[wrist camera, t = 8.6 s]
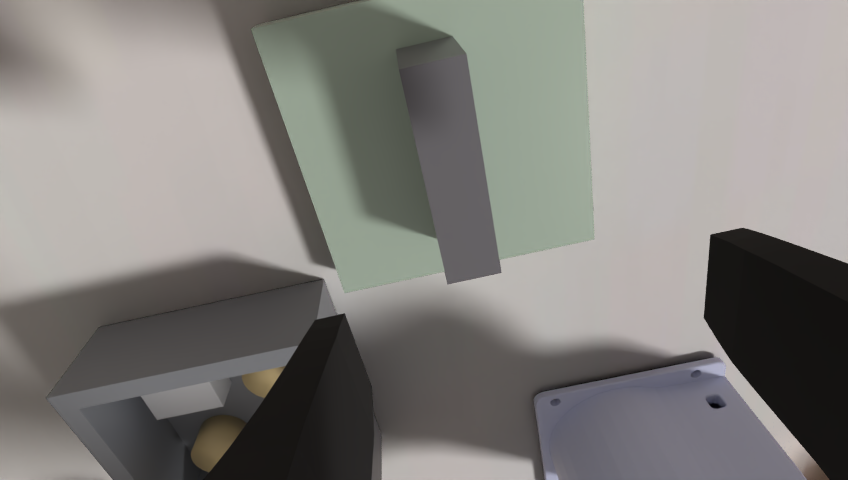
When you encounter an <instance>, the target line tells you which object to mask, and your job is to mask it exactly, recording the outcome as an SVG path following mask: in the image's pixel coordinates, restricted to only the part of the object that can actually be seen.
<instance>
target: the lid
mask: <svg viewBox="0 0 848 480" xmlns="http://www.w3.org/2000/svg"><path fill="white" fill-rule="evenodd" d="M251 31H252V34H253V37H254V39H255V42H256V45H257V48H258V51H259V54H260V56H261V59H262V62H263V65H264V68H265V70H266V73H267V76H268V79H269V82H270V84H271V87H272V90H273V93H274V96H275V98H276V101H277V104H278V107H279V110H280V113H281V115H282V118H283V121H284V124H285V127H286V129H287V132H288V135H289V138H290V141H291V143H292V146H293V149H294V152H295V155H296V158H297V160H298V163H299V166H300V169H301V172H302V174H303V177H304V180H305V183H306V186H307V188H308V191H309V194H310V197H311V200H312V203H313V205H314V208H315V211H316V214H317V217H318V219H319V222H320V225H321V228H322V231H323V233H324V236H325V239H326V242H327V245H328V248H329V250H330V253H331V256H332V259H333V262H334V264H335V267H336V270H337V273H338V276H339V278H340V281H341V284H342V287H343V290H344V293H348V292H352V291H357V290H362V289H366V288H371V287H376V286H380V285H385V284H390V283H394V282H399V281H403V280H408V279H413V278H417V277H422V276H427V275H431V274H436V273H441V272H445V275H446V280H447V284H452V283H456V282H461V281H466V280H470V279H475V278H480V277H484V276H489V275H494V274H498V273H501V267H500V261H499V260H501V259H506V258H510V257H515V256H519V255H524V254H529V253H533V252H538V251H543V250H547V249H552V248H557V247H561V246H566V245H570V244H575V243H580V242H584V241H589V240H594V219H593V197H592V176H591V154H590V133H589V111H588V90H587V68H586V47H585V25H584V4H583V0H358V1H354V2H350V3H346V4H342V5H338V6H333V7H329V8H325V9H321V10H317V11H312V12H308V13H304V14H300V15H296V16H291V17H287V18H283V19H279V20H275V21H270V22H266V23H262V24H258V25H256V26H255V27H253V28H252V29H251Z"/></svg>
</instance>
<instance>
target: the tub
mask: <svg viewBox="0 0 848 480" xmlns="http://www.w3.org/2000/svg"><path fill="white" fill-rule="evenodd" d="M335 315H337V313H336V310H335V308H334V305H333V302H332V300H331V297H330V294H329V292H328V289H327V286H326V284H325V281H324V279H322V280H318V281H313V282H308V283H304V284H299V285H294V286H290V287H285V288H280V289H276V290H271V291H266V292H262V293H257V294H252V295H248V296H243V297H238V298H234V299H229V300H224V301H220V302H215V303H210V304H206V305H201V306H196V307H192V308H187V309H182V310H178V311H173V312H168V313H164V314H159V315H154V316H150V317H145V318H140V319H136V320H131V321H126V322H122V323H117V324H112V325H108V326H103V327H98V329H97V330H96V331H95V333H94V334H93V336H92V337H91V338H90V340H89V341H88V342H87V344H86V345H85V346H84V348H83V349H82V350H81V352H80V353H79V354H78V356H77V357H76V358H75V360H74V361H73V362H72V364H71V365H70V367H69V368H68V369H67V371H66V372H65V373H64V375H63V376H62V377H61V379H60V380H59V381H58V383H57V384H56V385H55V387H54V388H53V389H52V391H51V392H50V393H49V395H48V396H47V398H46V399H47V400H48V401H49V403H50V404H51V405H52V406H53V408H54V409H55V410H56V411H57V412H58V414H59V415H60V416H61V417H62V418H63V420H64V421H65V422H66V423H67V425H68V426H69V427H70V428H71V429H72V431H73V432H74V433H75V434H76V435H77V437H78V438H79V439H80V440H81V442H82V443H83V444H84V445H85V446H86V448H87V449H88V450H89V451H90V453H91V454H92V455H93V456H94V457H95V459H96V460H97V461H98V462H99V463H100V465H101V466H102V467H103V468H104V470H105V471H106V472H107V473H108V474H109V476H110V477H111V478H112V479H113V480H203V479H204V478H205V477H206V476H207V474H208V473H209V472H210V471H211V470H212V468H213V467H214V466H215V465H216V463H217V462H218V461H219V460H220V459H221V457H222V456H223V455H224V453H225V452H226V451H227V450H228V448H229V447H230V446H231V444H232V443H233V442H234V440H235V439H236V438H237V436H238V435H239V433H240V432H241V431H242V429H243V428H244V427H245V425H246V424H247V422H248V421H249V420H250V418H251V417H252V416H253V414H254V413H255V411H256V410H257V409H258V407H259V406H260V404H261V403H262V401H263V400H264V398H265V397H266V395H267V394H268V392H269V391H270V389H271V388H272V386H273V385H274V383H275V382H276V380H277V379H278V377H279V375H280V374H281V372H282V371H283V369H284V368H285V366H286V364H287V363H288V361H289V360H290V358H291V357H292V355H293V353H294V352H295V350H296V349H297V347H298V345H299V344H300V342H301V341H302V339H303V337H304V336H305V334H306V333H307V331H308V330H309V328H310V327H311V325H312V323H313V322H314V320H317V319H321V318H326V317H330V316H335ZM373 418H374V448H373V464H372V480H382V434H381V432H380V429H379V426H378V424H377V421H376V418H375V415H374V413H373Z"/></svg>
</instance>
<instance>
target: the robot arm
mask: <svg viewBox="0 0 848 480" xmlns="http://www.w3.org/2000/svg"><path fill="white" fill-rule="evenodd" d="M704 319H705V320H706V322H707V324H708V325H709V327H710V329H711V330H712V332H713V333H714V335H715V337H716V338H717V340H718V342H719V343H720V345H721V346H722V348H723V349H724V351H725V352H726V354H727V355H728V357H729V358H730V360H731V361H732V363H733V364H734V365H735V366H736V368H737V369H738V370H739V371H740V373H741V374H742V375H743V376H744V377H745V379H746V380H747V381H748V382H749V383H750V385H751V386H752V387H753V388H754V389H755V391H756V392H757V393H758V394H759V395H760V397H761V398H762V399H763V400H764V401H765V402H766V404H767V405H768V406H769V407H770V408H771V410H772V411H773V412H774V413H775V414H776V415H777V417H778V418H779V419H780V420H781V421H782V423H783V424H784V425H785V426H786V427H787V428H788V430H789V431H790V432H791V433H792V434H793V436H794V437H795V438H796V439H797V440H798V441H799V443H800V444H801V445H802V446H803V447H804V448H805V450H806V451H807V452H808V453H809V454H810V456H811V457H812V458H813V459H814V460H815V461H816V463H817V464H818V465H819V467H820V468H821V469H822V470H823V472H824V473H825V474H826V475H827V477H828V478H829V479H830V480H848V263H845V262H842V261H839V260H836V259H834V258H831V257H828V256H825V255H822V254H820V253H817V252H814V251H811V250H808V249H806V248H803V247H800V246H797V245H794V244H792V243H789V242H786V241H783V240H780V239H777V238H774V237H772V236H769V235H765V234H762V233H759V232H756V231H753V230H749V229H745V228H739V229H735V230H730V231H725V232H721V233H716V234H711V235H710V247H709V260H708V272H707V285H706V297H705V310H704ZM725 370H726V365H725V363H724V362H723V361H722V360H721V359H720V358H717V357H716V358H708V359H703V360H699V361H694V362H689V363H684V364H679V365H674V366H669V367H664V368H659V369H654V370H649V371H644V372H639V373H634V374H629V375H624V376H619V377H614V378H609V379H604V380H599V381H594V382H589V383H585V384H580V385H575V386H570V387H565V388H560V389H555V390H550V391H545V392H541V393H539V394H537V395H536V396H535V398H534V406H535V413H536V420H537V428H538V435H539V442H540V449H541V456H542V463H543V471H544V478H545V480H806V478H805V477H804V475H803V474H802V473H801V471H800V470H799V469H798V467H797V466H796V465H795V464H794V462H793V461H792V460H791V459H790V457H789V456H788V455H787V454H786V452H785V451H784V450H783V449H782V447H781V446H780V445H779V444H778V442H777V441H776V440H775V439H774V437H773V436H772V435H771V434H770V432H769V431H768V430H767V429H766V427H765V426H764V425H763V424H762V422H761V421H760V420H759V419H758V417H757V416H756V415H755V414H754V412H753V411H752V410H751V409H750V407H749V406H748V405H747V404H746V402H745V401H744V400H743V399H742V397H741V396H740V395H739V394H738V392H737V391H736V390H735V388H734V387H733V386H732V385H731V383H730V382H729V381H728V380H727V378H726V377H725ZM553 399H555V400H553ZM373 448H374V418H373V401H372V387H371V384H370V381H369V378H368V376H367V373H366V370H365V368H364V365H363V362H362V359H361V357H360V354H359V351H358V348H357V346H356V343H355V340H354V338H353V335H352V332H351V329H350V327H349V324H348V321H347V319H346V316H345V313H344V314H340V315H335V316H330V317H326V318H321V319H317V320H314V322H313V323H312V325H311V327H310V328H309V330H308V331H307V333H306V334H305V336H304V337H303V339H302V341H301V342H300V344H299V345H298V347H297V349H296V350H295V352H294V353H293V355H292V357H291V358H290V360H289V361H288V363H287V364H286V366H285V368H284V369H283V371H282V372H281V374H280V375H279V377H278V379H277V380H276V382H275V383H274V385H273V386H272V388H271V389H270V391H269V392H268V394H267V395H266V397H265V398H264V400H263V401H262V403H261V404H260V406H259V407H258V409H257V410H256V411H255V413H254V414H253V416H252V417H251V418H250V420H249V421H248V422H247V424H246V425H245V427H244V428H243V429H242V431H241V432H240V433H239V435H238V436H237V438H236V439H235V440H234V442H233V443H232V444H231V446H230V447H229V448H228V450H227V451H226V452H225V453H224V455H223V456H222V457H221V459H220V460H219V461H218V462H217V463H216V465H215V466H214V467H213V468H212V470H211V471H210V472H209V473H208V474H207V476H206V477H205V478H204V479H203V480H372V464H373Z"/></svg>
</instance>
